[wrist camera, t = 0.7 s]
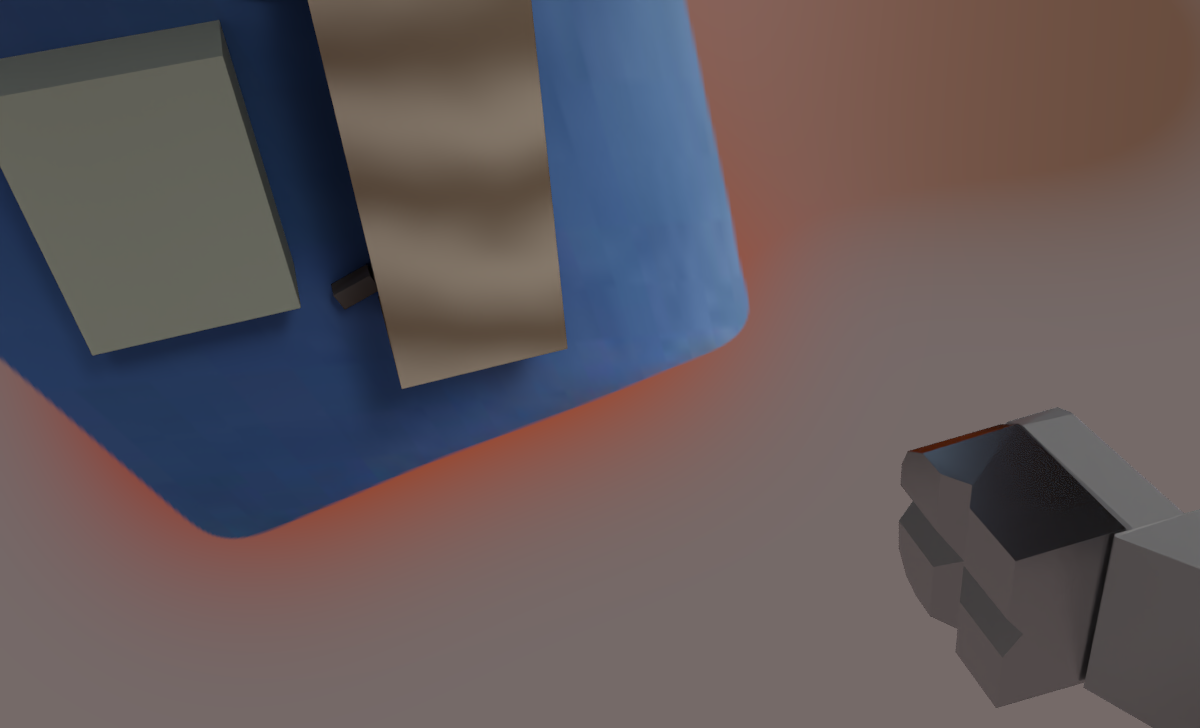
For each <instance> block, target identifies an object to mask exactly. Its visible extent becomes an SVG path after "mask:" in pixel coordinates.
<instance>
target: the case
mask: <svg viewBox="0 0 1200 728" xmlns="http://www.w3.org/2000/svg"><path fill="white" fill-rule="evenodd" d="M0 167H1V169H2V171H3V173H4V175H5V177H6V179H7V181H8V183H9V186H10V188H11V190H12V192H13V194H14V196H15V198H16V200H17V202H18V204H19V206H20V208H21V210H22V212H23V214H24V216H25V218H26V220H27V222H28V224H29V227H30V229H31V231H32V233H33V235H34V237H35V239H36V241H37V243H38V245H39V247H40V249H41V251H42V253H43V255H44V257H45V259H46V261H47V263H48V265H49V267H50V270H51V272H52V274H53V276H54V278H55V280H56V282H57V284H58V286H59V288H60V290H61V292H62V294H63V296H64V298H65V300H66V302H67V304H68V306H69V308H70V311H71V313H72V315H73V317H74V319H75V321H76V323H77V325H78V327H79V329H80V331H81V333H82V335H83V337H84V339H85V341H86V343H87V345H88V347H89V349H90V351H91V354H92V356H93V355H97V354H101V353H106V352H110V351H115V350H119V349H123V348H128V347H132V346H136V345H141V344H145V343H150V342H154V341H158V340H163V339H167V338H171V337H176V336H180V335H185V334H189V333H193V332H198V331H202V330H206V329H211V328H215V327H220V326H224V325H228V324H233V323H237V322H241V321H246V320H250V319H255V318H259V317H263V316H268V315H272V314H276V313H281V312H285V311H290V310H294V309H298V308H301V306H300V299H299V293H298V287H297V280H296V274H295V268H294V263H293V260H292V256H291V253H290V250H289V246H288V243H287V240H286V237H285V233H284V230H283V227H282V223H281V220H280V217H279V214H278V210H277V207H276V204H275V201H274V197H273V194H272V191H271V187H270V184H269V181H268V178H267V174H266V171H265V168H264V165H263V161H262V158H261V155H260V151H259V148H258V145H257V142H256V138H255V135H254V132H253V129H252V125H251V122H250V119H249V115H248V112H247V109H246V106H245V102H244V99H243V96H242V93H241V89H240V86H239V83H238V79H237V76H236V73H235V70H234V66H233V63H232V60H231V57H230V53H229V50H228V47H227V43H226V40H225V37H224V34H223V30H222V27H221V24H220V21H219V20H216V21H210V22H205V23H199V24H193V25H188V26H182V27H176V28H171V29H165V30H160V31H154V32H148V33H143V34H137V35H131V36H126V37H120V38H114V39H109V40H103V41H97V42H92V43H86V44H81V45H75V46H69V47H64V48H58V49H52V50H47V51H41V52H35V53H30V54H24V55H18V56H13V57H7V58H2V59H0Z"/></svg>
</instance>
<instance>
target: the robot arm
mask: <svg viewBox="0 0 1200 728" xmlns="http://www.w3.org/2000/svg"><path fill="white" fill-rule="evenodd" d="M901 486H902V487H903V489H904V490H905V491H906V492H907V493H908V495H909V496H910V498H911V499H912V500H913V502H912V503H911V505H910V506H909V508H908V509H907V510H906V512H905V513H904V515H903V516H902V517H901V519H900V520H899V550H900V553H901V557H902V561H903V565H904V569H905V572H906V576H907V578H908V580H909V582H910V584H911V586H912V588H913V590H914V592H915V594H916V596H917V598H918V599H919V601H920V602H921V603H922V605H923V606H924V608H925V609H926V611H927V612H928V614H929V615H930V616H931V617H933V618H935V619H938V620H940V621H942V622H944V623H946V624H948V625H950V626H953V627H955V628H957V629H958V630H957V643H956V653H957V654H958V656H959V657H960V659H961V660H962V661H963V663H964V664H965V666H966V667H967V668H968V670H969V671H970V672H971V674H972V675H973V677H974V678H975V679H976V681H977V682H978V684H979V685H980V686H981V688H982V689H983V690H984V692H985V693H986V695H987V696H988V697H989V699H990V700H991V701H992V703H993V704H994V706H995V707H996V708H998V707H1001V706H1005V705H1008V704H1012V703H1015V702H1018V701H1022V700H1025V699H1029V698H1032V697H1035V696H1039V695H1043V694H1046V693H1049V692H1053V691H1056V690H1060V689H1063V688H1067V687H1070V686H1074V685H1077V684H1080V683H1084V682H1085V683H1084V688H1085V689H1087V690H1089V691H1091V692H1092V693H1094V694H1096V695H1098V696H1099V697H1101V698H1103V699H1104V700H1106V701H1108V702H1110V703H1111V704H1113V705H1115V706H1116V707H1118V708H1120V709H1122V710H1123V711H1125V712H1127V713H1129V714H1130V715H1132V716H1134V717H1135V718H1137V719H1139V720H1141V721H1142V722H1144V723H1146V724H1148V725H1149V726H1151V727H1153V728H1200V509H1199V510H1196V511H1192V512H1188V513H1183V512H1182V511H1181V510H1180V509H1178V507H1176V506H1175V505H1174V504H1173V503H1172V502H1171V501H1170V500H1169V499H1168V498H1166V497H1165V496H1164V495H1163V494H1162V493H1161V492H1160V491H1159V490H1157V489H1156V488H1155V487H1154V486H1153V485H1152V484H1151V483H1150V482H1148V481H1147V480H1146V479H1145V478H1144V477H1143V476H1142V475H1141V474H1140V473H1138V472H1137V471H1136V470H1135V469H1134V468H1133V467H1131V465H1129V464H1128V463H1127V462H1126V461H1125V460H1124V459H1123V458H1122V457H1120V456H1119V455H1118V454H1117V453H1116V452H1115V451H1114V450H1113V449H1112V448H1111V447H1109V446H1108V445H1107V444H1106V443H1105V442H1104V441H1103V440H1101V439H1100V438H1099V437H1098V436H1097V435H1096V434H1095V433H1094V432H1093V431H1091V430H1090V429H1089V428H1088V427H1087V426H1086V425H1085V424H1084V423H1082V422H1081V421H1080V420H1079V419H1078V418H1077V417H1076V416H1075V415H1074V414H1072V413H1071V412H1069V411H1066V410H1063V409H1060V408H1058V407H1057V408H1054V409H1050V410H1046V411H1043V412H1040V413H1036V414H1033V415H1030V416H1026V417H1023V418H1019V419H1016V420H1013V421H1009V422H1007V423H1006V424H1000V425H997V426H993V427H990V428H986V429H983V430H979V431H976V432H972V433H969V434H965V435H962V436H958V437H955V438H952V439H948V440H945V441H941V442H938V443H934V444H931V445H928V446H924V447H920V448H917V449H914V450H910V451H908V452H907V454H906V457H905V459H904V461H903V463H902V472H901Z"/></svg>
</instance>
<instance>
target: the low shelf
mask: <svg viewBox="0 0 1200 728" xmlns="http://www.w3.org/2000/svg"><path fill="white" fill-rule="evenodd" d="M308 4H309V8H310V12H311V17H312V21H313V25H314V29H315V33H316V37H317V41H318V45H319V50H320V54H321V58H322V62H323V66H324V70H325V74H326V78H327V83H328V87H329V91H330V95H331V99H332V103H333V107H334V111H335V116H336V120H337V124H338V128H339V132H340V136H341V140H342V144H343V149H344V153H345V157H346V161H347V165H348V169H349V173H350V177H351V182H352V186H353V190H354V194H355V198H356V202H357V206H358V210H359V215H360V219H361V223H362V227H363V231H364V235H365V239H366V244H367V248H368V252H369V256H370V260H371V263H370V264H371V268H372V270H371V269H370V268H369V266H368V265H367V264H366V265H364V266H363V267H361V268H359V269H357V270H356V271H354V272H352V273H350V274H348V275H347V276H345V277H343V278H341V279H340V280H338V281H336V282H334V283H332V284H331V286H332V291H333V296H334V297H335V298H336V299H337V301H338V302H339V303H340V304H341V306H342V307H343V308H344V309H347V308H349V307H350V306H352V305H354V304H356V303H358V302H359V301H361V300H363V299H365V298H366V297H368V296H370V295H372V294H374V293H375V292H377V291H378V293H379V296H378V297H379V301H380V305H381V310H382V314H383V318H384V321H385V325H386V329H387V333H388V337H389V341H390V345H391V349H392V352H393V356H394V360H395V364H396V368H397V372H398V376H399V380H400V383H401V387H402V389H404V388H408V387H412V386H416V385H420V384H425V383H429V382H433V381H437V380H441V379H445V378H449V377H453V376H457V375H461V374H465V373H470V372H474V371H478V370H482V369H486V368H490V367H494V366H498V365H502V364H506V363H510V362H514V361H519V360H523V359H527V358H531V357H535V356H539V355H543V354H547V353H551V352H555V351H559V350H564V349H567V340H566V330H565V321H564V311H563V302H562V292H561V282H560V273H559V263H558V254H557V244H556V234H555V225H554V215H553V206H552V196H551V186H550V177H549V167H548V157H547V148H546V138H545V129H544V119H543V109H542V100H541V90H540V81H539V71H538V61H537V52H536V42H535V33H534V23H533V13H532V4H531V0H308Z"/></svg>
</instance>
